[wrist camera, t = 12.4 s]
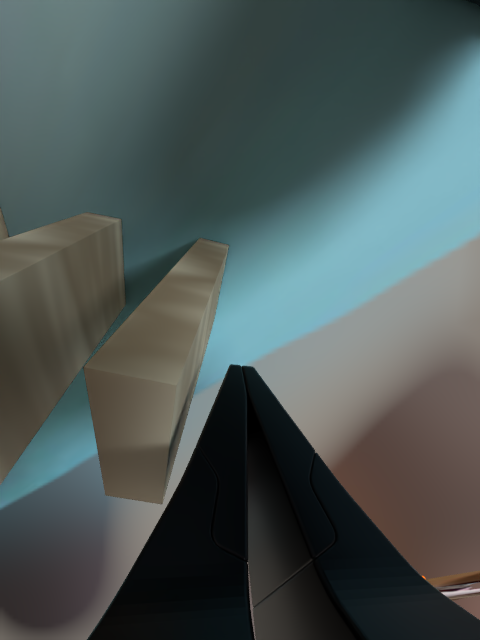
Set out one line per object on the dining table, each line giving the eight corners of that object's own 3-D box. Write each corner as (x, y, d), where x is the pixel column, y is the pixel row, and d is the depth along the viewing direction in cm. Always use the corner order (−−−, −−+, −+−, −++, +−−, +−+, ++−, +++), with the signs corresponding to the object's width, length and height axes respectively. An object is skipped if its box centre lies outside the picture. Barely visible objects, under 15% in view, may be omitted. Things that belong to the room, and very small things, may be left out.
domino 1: (121, 219, 12) (-125, 344, 3) (125, 304, 14) (-7, 495, 6) (86, 212, 11) (-275, 329, 3) (97, 300, 14) (-83, 494, 6)
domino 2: (229, 244, 13) (176, 385, 4) (213, 321, 15) (162, 504, 7) (200, 237, 12) (83, 367, 4) (189, 315, 15) (105, 495, 7)
